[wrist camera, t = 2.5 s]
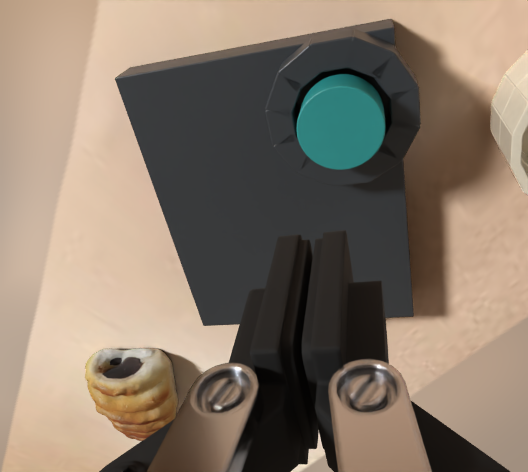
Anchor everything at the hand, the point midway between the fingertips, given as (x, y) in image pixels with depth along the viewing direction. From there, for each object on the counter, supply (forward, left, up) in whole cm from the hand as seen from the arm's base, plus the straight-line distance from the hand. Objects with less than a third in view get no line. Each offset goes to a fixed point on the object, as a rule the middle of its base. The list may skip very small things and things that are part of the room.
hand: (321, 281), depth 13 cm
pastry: (+20, -18, -15) cm, 30 cm away
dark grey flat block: (+5, -4, -15) cm, 16 cm away
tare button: (0, 0, -11) cm, 11 cm away
